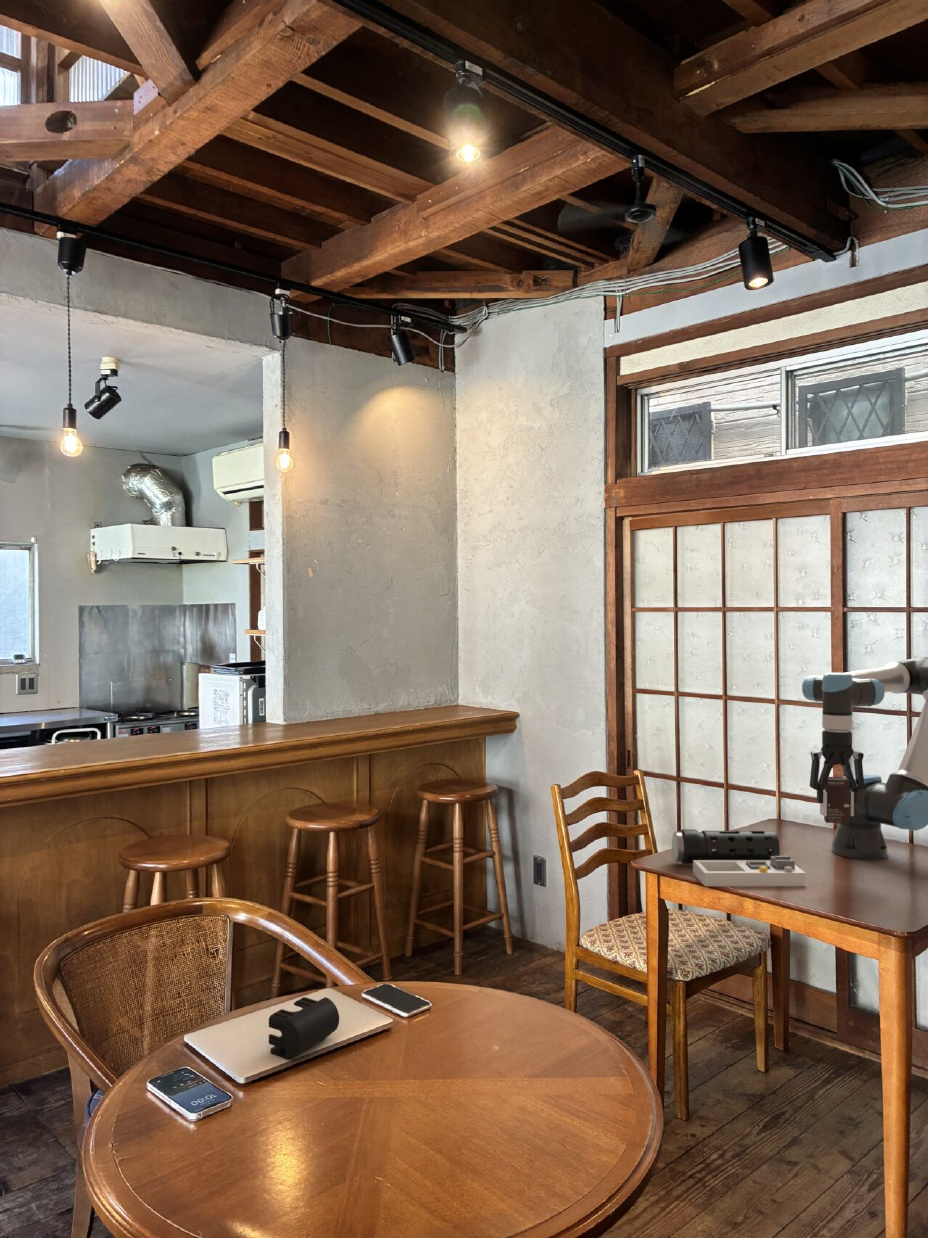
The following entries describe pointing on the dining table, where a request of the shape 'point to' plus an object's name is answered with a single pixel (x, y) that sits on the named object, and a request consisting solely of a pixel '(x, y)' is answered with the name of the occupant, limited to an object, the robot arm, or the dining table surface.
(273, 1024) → the end cap
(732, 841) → the muzzle brake
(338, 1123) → the dining table surface
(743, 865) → the grey compartment tray
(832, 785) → the box
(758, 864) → the button
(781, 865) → the button
